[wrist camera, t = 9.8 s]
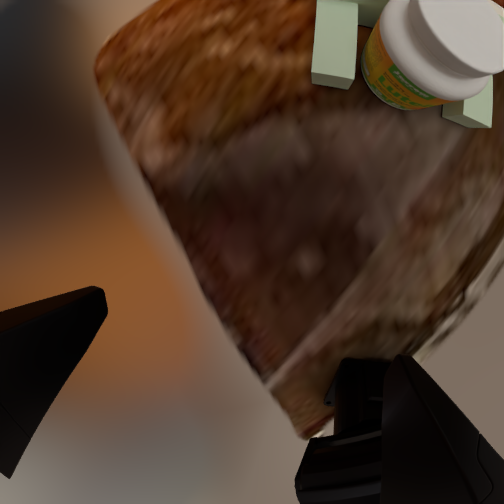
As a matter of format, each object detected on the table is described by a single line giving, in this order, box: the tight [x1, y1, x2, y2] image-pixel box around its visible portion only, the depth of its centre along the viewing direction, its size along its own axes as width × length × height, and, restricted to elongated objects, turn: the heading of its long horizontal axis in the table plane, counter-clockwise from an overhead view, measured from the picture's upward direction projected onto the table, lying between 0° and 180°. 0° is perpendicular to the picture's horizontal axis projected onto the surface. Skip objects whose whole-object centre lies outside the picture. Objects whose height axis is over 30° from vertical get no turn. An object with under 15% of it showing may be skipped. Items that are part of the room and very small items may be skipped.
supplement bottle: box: [361, 0, 504, 110], centre depth 8 cm, size 5×5×10 cm
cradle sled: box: [311, 0, 504, 128], centre depth 9 cm, size 7×11×6 cm, turn 84°
